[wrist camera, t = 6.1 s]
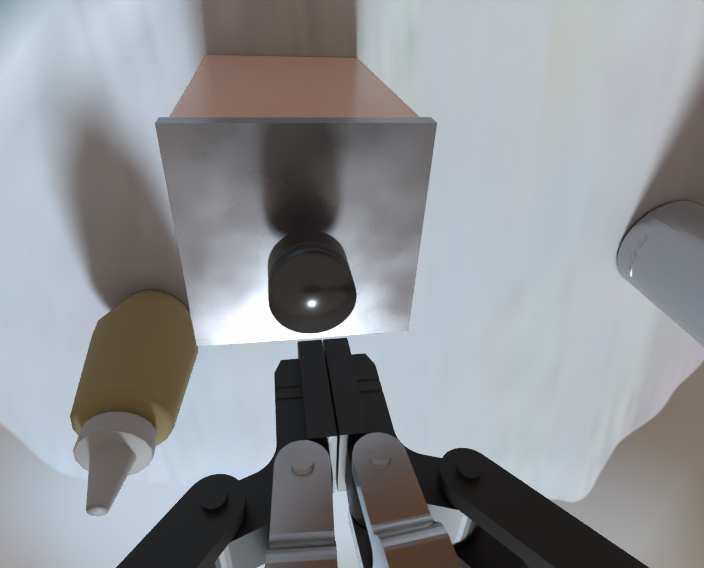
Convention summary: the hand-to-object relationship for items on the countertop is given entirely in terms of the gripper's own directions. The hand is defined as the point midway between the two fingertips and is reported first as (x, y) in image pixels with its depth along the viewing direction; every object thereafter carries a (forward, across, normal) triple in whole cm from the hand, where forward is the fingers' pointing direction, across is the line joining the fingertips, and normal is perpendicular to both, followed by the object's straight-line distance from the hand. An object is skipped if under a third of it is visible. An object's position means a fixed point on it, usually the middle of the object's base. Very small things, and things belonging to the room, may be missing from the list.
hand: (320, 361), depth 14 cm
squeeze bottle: (+25, +12, +16) cm, 32 cm away
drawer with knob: (+23, 0, 0) cm, 23 cm away
